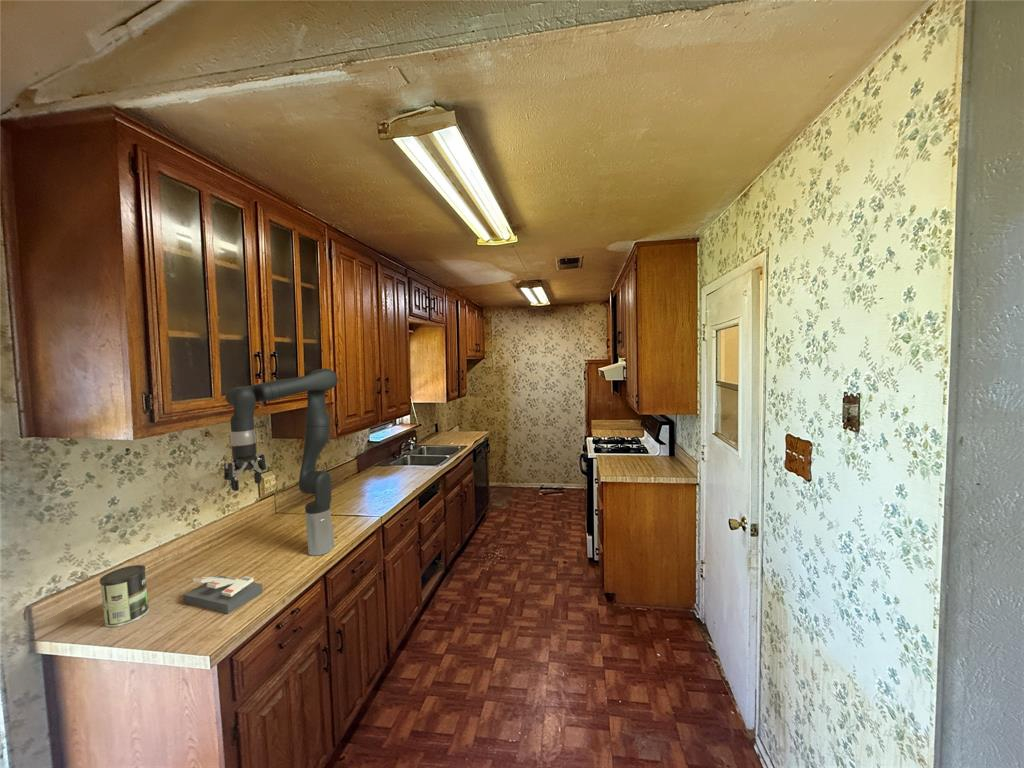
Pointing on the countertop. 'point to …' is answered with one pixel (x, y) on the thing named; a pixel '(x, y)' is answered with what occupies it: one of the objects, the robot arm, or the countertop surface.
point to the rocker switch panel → (221, 597)
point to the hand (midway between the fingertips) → (247, 486)
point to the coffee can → (124, 595)
